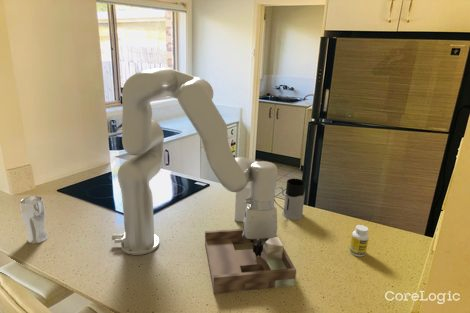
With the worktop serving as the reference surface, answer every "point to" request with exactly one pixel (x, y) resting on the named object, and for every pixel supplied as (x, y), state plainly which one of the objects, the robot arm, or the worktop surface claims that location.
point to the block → (273, 249)
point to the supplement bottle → (359, 241)
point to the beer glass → (34, 218)
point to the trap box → (243, 265)
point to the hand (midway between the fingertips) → (257, 253)
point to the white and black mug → (293, 199)
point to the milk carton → (241, 203)
